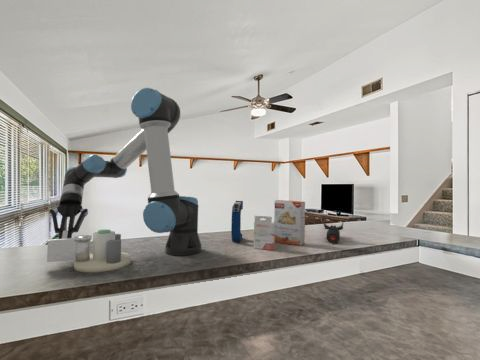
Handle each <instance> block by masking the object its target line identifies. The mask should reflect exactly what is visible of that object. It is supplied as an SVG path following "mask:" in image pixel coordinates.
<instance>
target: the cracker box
mask: <svg viewBox="0 0 480 360" xmlns="http://www.w3.org/2000/svg"><path fill="white" fill-rule="evenodd" d="M273 212H274V213H273V214H274V216H273V217H274V218H273V219H274V220H273V222H274V243H278V242H279V243H280V244H285V245H292V246H297V245H298V247H302V246H303V245H305V236H306V235H305V233H306V232H305V227H306V222H305V221H306V202H305V201H300V200H299V201H298V200H297V201H296V200H283V199H278V200H277V199H276V200H274V211H273Z"/></svg>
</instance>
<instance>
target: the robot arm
mask: <svg viewBox="0 0 480 360" xmlns="http://www.w3.org/2000/svg"><path fill="white" fill-rule="evenodd" d="M130 109H131V111H132V114H134V115H135V116H134V117H136V118H138V122H139V123H138V124H139V128H140V129H141V130H140V131H139V132H138V133H137V134H136V135H134V137H132V139H130V140H129V142H127V143H126V144H125V146H123V147H122V148H121V149H120V150H119V151H118V152H117V153H116V154H114V156H113V157H112V158H110V160H105V159H104V158H103V157H102V156H100V155H98V154H95V153H93V154H91V155H89V156H88V157H86V158H85V159H84V160H83V161H82V162H80V163H79V164H78V165H77V166H71V167H68V169H67V170H66V172H65V174H64V179H63V186H62V190H61V194H60V199H59V205H58V206H57V207H56V208H54V209H50V210H49V215H50V216H51V218H52V223H53V229H54V233H55V234H58V239H68V238H73V233H78V232H79V230H80V228H81V227H82V224H83V223H84V220H85V218H86V216H88V214H89V211H88V208H83V205H82V204H83V197H84V196H83V195H84V189H85V185H87V183H88V182H90V181H91V180H93V179H94V178H111V179H118V178H123V177H124V176H126V173H127V171H128V167H129V166H130V165H132V164H133V163H134V162H135V161H136V160H137V159H138V158H139V157H141V155H143V154H144V153H145V151H146V156H147V157H146V158H147V165H148V174H149V175H148V176H149V184H150V194H149V195H148V197H147V205H145V206H144V207H145V208H144V209H143V211H142V218H143V222H144V224H145V226H146V227H147V228H148V229H149V230H150V231H151V232H153V233H156V234H163V233H169V235H168V238H167V240H166V243H165V247H164V253H166V254H168V255H171V256H173V255H174V256H190V255H197V254H199V253H201V252H202V243H201V239H200V236H199V232H198V230H199V224H198V223H199V200H198V198H196V197H193V196H184V195H183V196H182V195H180V193H178V192H177V191H176V190H175V183H174V175H173V164H172V155H171V149H170V140H169V139H170V138H169V133H170V132H172V130H173V129H174V128H175V127H176V126H177V125H178V123H179V121H180V118H181V108H180V106H179V104H178V103H177V101H175V100H174V99H173V98H171V97H169V96H166V95H165V94H163V93H161V92H160V91H159V90H157V89H153V88H151V87H144V88H141V89H139V90H137V92H135V95H133V96H132V99H131V102H130ZM58 213H59V214H60V215H61V221H60V226H59V223H58V217H57V216H58ZM78 215H79V216H78ZM76 216H78V218H77V221H76V222H75V220H76ZM68 218H69V222H68V227H67V230H66V225H67V221H68Z"/></svg>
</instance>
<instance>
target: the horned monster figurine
mask: <svg viewBox="0 0 480 360" xmlns="http://www.w3.org/2000/svg"><path fill="white" fill-rule="evenodd" d="M322 223H323V226H324V229H325V230H327V231H326V241H327V242H328V243H329V244H331V243H332V244H331V245H335V244H338V243H339V241H340V239H341V238H340V237H341V236H340V235H341V231H342V230H344V222H343V221H342V222H341V223H342V224H341V225H339V226H337V225H333V224H331V225H330V226H329V225H327V224H326V221H325V220H323V222H322Z"/></svg>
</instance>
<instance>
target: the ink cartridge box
mask: <svg viewBox="0 0 480 360" xmlns="http://www.w3.org/2000/svg"><path fill="white" fill-rule="evenodd" d="M264 219H265V220H264ZM272 219H273V218H272V216H269V215H268V216H266V215H254V221H253V248H254V249H259V250H266V251H267V250H268V251H273V250H274V249H275V242H274V221H273V220H272Z"/></svg>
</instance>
